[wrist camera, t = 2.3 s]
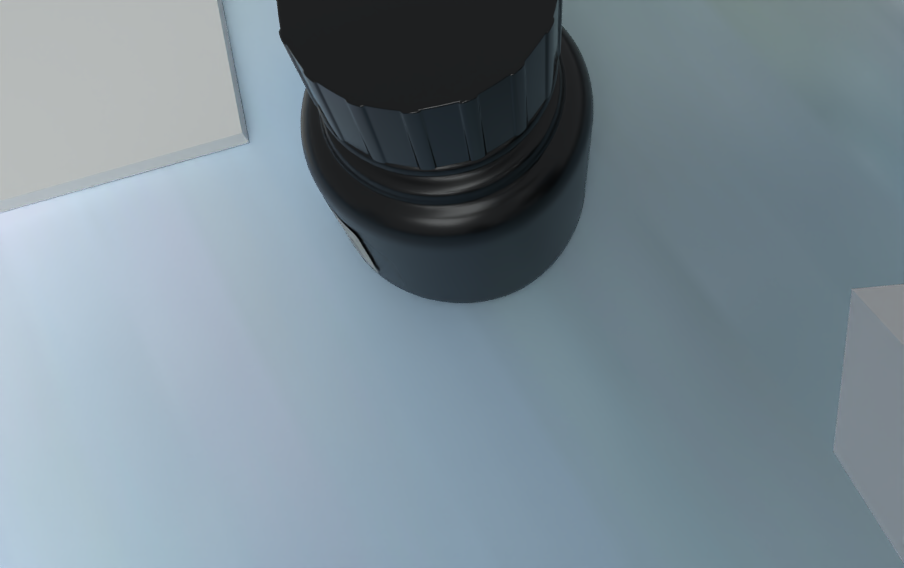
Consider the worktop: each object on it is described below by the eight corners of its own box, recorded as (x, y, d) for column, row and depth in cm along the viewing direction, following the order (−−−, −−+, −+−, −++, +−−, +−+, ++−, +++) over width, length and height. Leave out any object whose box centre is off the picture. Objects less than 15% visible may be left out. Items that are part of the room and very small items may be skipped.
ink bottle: (395, 56, 33) (317, -205, 21) (614, 107, 31) (654, -148, 20) (308, 281, 30) (166, 120, 19) (541, 349, 28) (539, 217, 17)
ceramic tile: (200, -111, 36) (192, -126, 36) (249, 142, 32) (242, 132, 31) (-80, -31, 37) (-94, -43, 36) (-68, 231, 32) (-83, 224, 32)
